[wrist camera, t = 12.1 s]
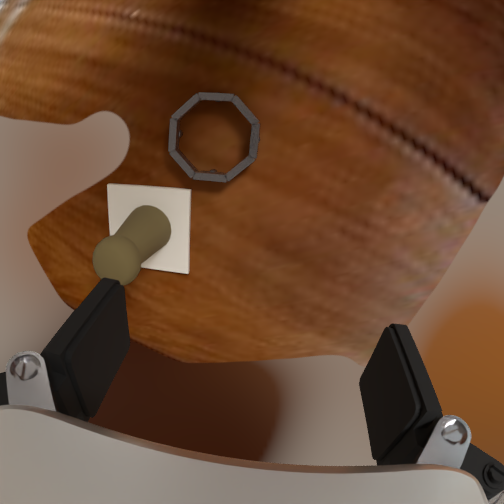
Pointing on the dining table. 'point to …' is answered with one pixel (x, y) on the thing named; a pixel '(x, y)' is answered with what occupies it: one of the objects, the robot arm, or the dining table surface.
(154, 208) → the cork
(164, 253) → the plate
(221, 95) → the ring stand
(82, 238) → the dining table surface
